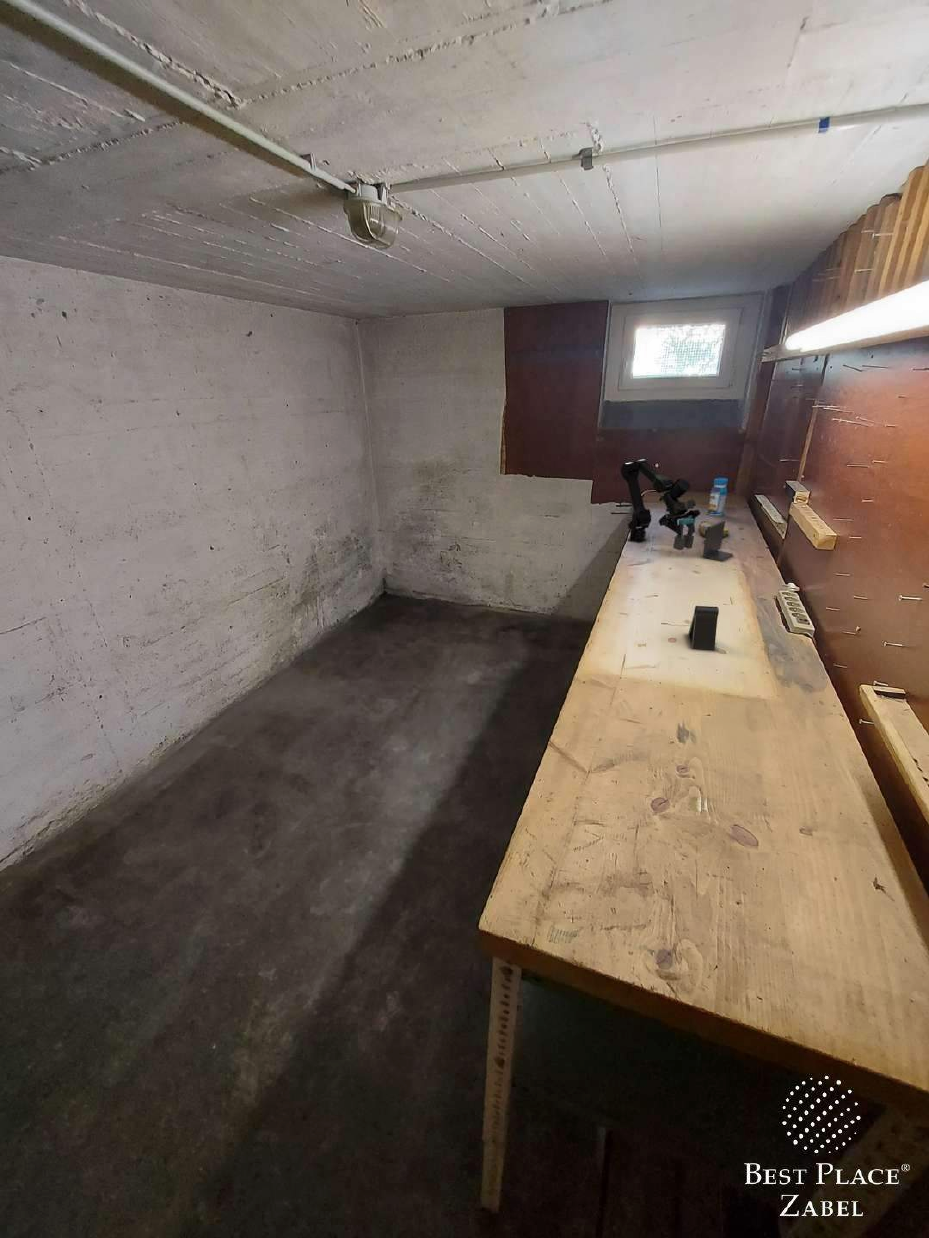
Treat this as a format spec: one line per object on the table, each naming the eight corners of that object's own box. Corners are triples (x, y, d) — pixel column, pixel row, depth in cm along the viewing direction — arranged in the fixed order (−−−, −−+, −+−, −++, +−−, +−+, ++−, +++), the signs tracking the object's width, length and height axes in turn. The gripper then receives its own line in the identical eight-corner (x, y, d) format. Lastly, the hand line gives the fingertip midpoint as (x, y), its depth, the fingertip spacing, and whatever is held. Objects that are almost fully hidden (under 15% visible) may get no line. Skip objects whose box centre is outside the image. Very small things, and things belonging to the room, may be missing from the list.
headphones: (673, 548, 217) (677, 519, 211) (685, 545, 219) (690, 517, 213) (679, 550, 214) (684, 521, 208) (692, 548, 216) (697, 519, 210)
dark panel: (690, 556, 218) (696, 525, 211) (705, 549, 226) (710, 518, 219) (720, 562, 209) (726, 530, 202) (734, 555, 217) (740, 523, 210)
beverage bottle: (723, 516, 276) (730, 480, 267) (707, 515, 278) (713, 480, 270) (722, 512, 283) (728, 477, 274) (706, 512, 286) (712, 477, 277)
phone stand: (687, 635, 152) (693, 600, 147) (708, 636, 151) (715, 601, 146) (692, 648, 145) (698, 612, 139) (714, 650, 143) (721, 614, 138)
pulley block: (697, 531, 230) (701, 516, 254) (693, 542, 233) (698, 526, 257) (729, 538, 225) (730, 522, 249) (724, 549, 228) (726, 533, 251)
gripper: (667, 496, 206) (682, 527, 202) (701, 490, 212) (716, 521, 208) (652, 510, 216) (666, 540, 212) (684, 505, 222) (699, 534, 218)
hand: (687, 533), depth 212 cm, fingers closed on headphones, 7 cm apart
